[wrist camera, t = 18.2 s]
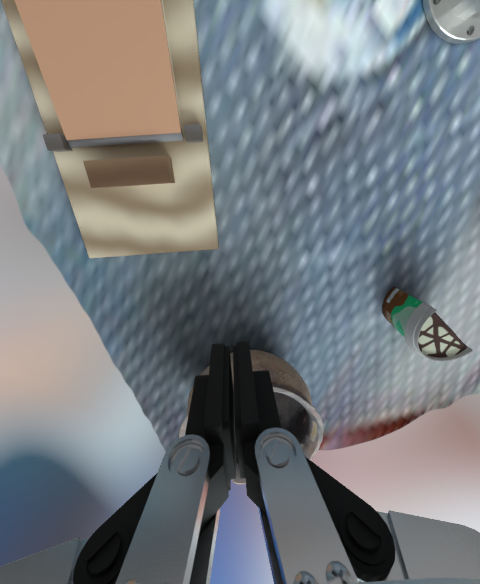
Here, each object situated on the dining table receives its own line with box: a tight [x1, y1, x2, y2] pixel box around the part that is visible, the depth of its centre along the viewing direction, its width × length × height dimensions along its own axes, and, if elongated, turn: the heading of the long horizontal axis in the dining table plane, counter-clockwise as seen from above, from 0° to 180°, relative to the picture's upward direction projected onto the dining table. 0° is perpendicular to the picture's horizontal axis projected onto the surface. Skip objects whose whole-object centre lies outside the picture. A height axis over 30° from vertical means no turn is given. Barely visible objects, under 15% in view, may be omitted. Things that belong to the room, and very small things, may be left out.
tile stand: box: [2, 0, 219, 258], centre depth 29 cm, size 30×20×4 cm, turn 4°
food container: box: [382, 286, 473, 361], centre depth 40 cm, size 12×6×10 cm, turn 49°
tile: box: [15, 0, 183, 148], centre depth 26 cm, size 13×14×2 cm
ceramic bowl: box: [179, 350, 323, 484], centre depth 42 cm, size 22×22×15 cm
